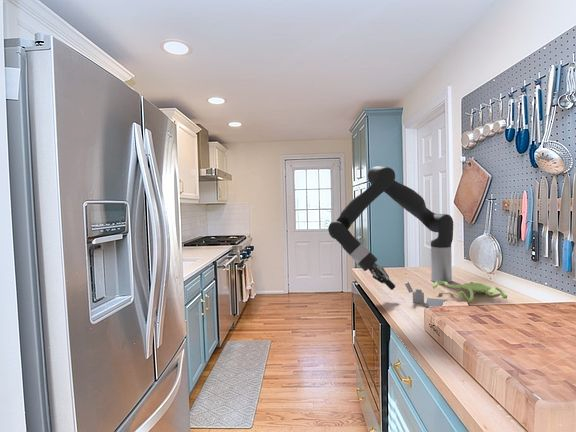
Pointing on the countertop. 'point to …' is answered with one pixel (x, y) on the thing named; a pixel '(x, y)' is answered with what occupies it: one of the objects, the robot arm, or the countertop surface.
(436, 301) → the slate pad
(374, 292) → the countertop surface
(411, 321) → the countertop surface
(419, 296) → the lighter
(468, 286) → the figurine
